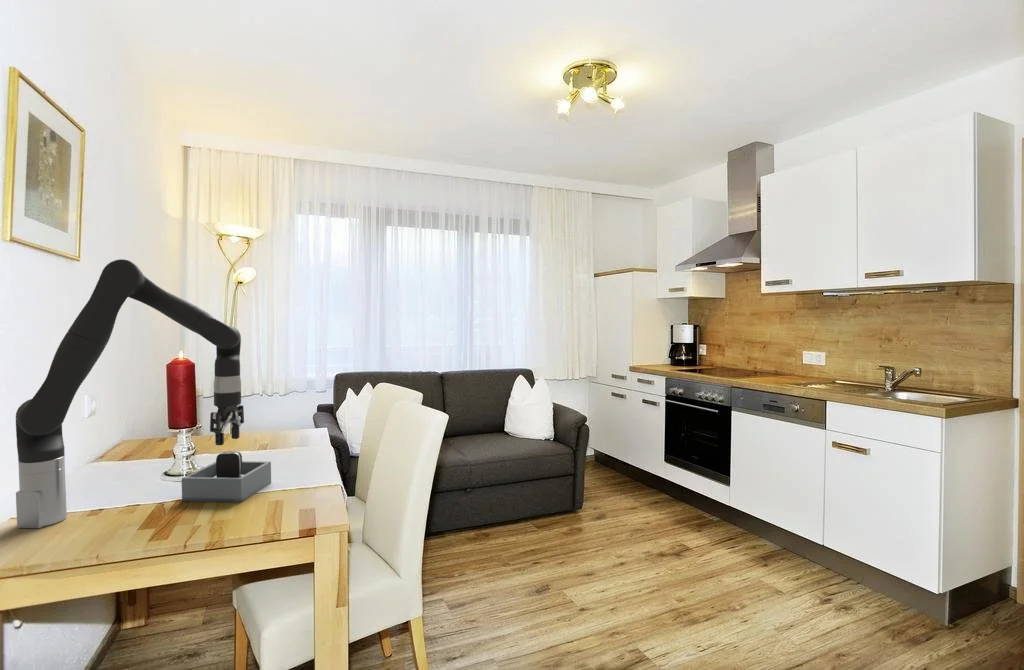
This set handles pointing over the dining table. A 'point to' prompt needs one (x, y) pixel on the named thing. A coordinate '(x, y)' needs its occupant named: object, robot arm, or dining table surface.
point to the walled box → (226, 483)
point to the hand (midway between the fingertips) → (227, 441)
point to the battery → (229, 465)
